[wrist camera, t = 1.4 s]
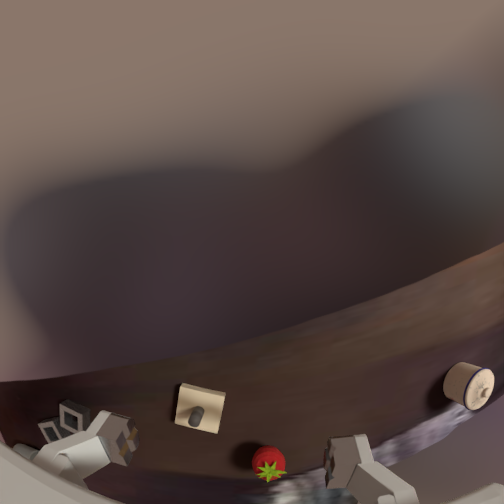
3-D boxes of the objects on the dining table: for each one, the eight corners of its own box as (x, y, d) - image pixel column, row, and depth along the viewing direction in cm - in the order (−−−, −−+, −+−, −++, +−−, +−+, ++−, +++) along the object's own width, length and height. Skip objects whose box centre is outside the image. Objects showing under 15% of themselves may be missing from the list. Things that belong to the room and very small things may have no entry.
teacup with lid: (439, 403, 48) (469, 420, 36) (443, 365, 49) (476, 377, 37) (475, 390, 48) (505, 402, 36) (480, 354, 49) (512, 362, 37)
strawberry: (281, 432, 48) (286, 459, 38) (284, 461, 47) (289, 490, 37) (249, 435, 48) (249, 463, 38) (254, 465, 47) (254, 494, 37)
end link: (90, 431, 47) (82, 437, 44) (68, 420, 47) (60, 426, 44) (90, 409, 48) (82, 414, 44) (67, 398, 48) (59, 403, 45)
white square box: (73, 438, 47) (65, 444, 43) (57, 440, 47) (50, 446, 43) (60, 416, 47) (52, 421, 44) (45, 419, 47) (37, 423, 44)
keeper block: (218, 428, 48) (214, 446, 41) (177, 418, 48) (167, 434, 41) (225, 392, 49) (221, 407, 42) (182, 382, 49) (173, 395, 42)
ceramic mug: (21, 438, 46) (5, 448, 38) (41, 446, 46) (25, 457, 38) (33, 468, 45) (19, 479, 37) (54, 477, 45) (40, 489, 37)
